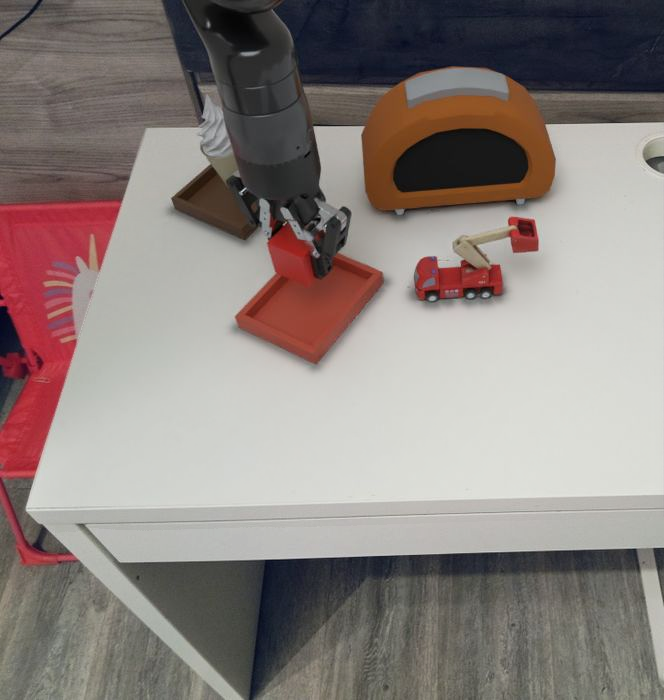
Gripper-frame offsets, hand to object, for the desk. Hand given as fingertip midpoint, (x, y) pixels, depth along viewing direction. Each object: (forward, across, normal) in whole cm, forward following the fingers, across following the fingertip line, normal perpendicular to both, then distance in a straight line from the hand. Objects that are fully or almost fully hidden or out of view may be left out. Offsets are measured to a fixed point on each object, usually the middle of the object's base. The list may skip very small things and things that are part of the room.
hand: (303, 264), depth 83 cm
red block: (0, 0, 0) cm, 0 cm away
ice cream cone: (+6, -19, +10) cm, 22 cm away
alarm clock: (+7, +5, +25) cm, 26 cm away
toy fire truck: (+7, +15, +11) cm, 20 cm away
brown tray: (+7, -19, +10) cm, 23 cm away
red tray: (+7, 0, 0) cm, 7 cm away
